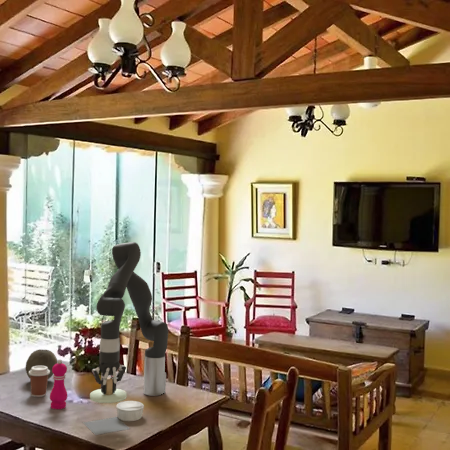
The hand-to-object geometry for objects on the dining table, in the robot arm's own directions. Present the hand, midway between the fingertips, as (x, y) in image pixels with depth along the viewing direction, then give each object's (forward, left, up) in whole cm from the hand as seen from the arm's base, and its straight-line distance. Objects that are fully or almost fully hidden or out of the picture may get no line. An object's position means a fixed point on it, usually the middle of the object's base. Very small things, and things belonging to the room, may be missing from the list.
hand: (108, 392), depth 234 cm
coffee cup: (+13, -48, -14) cm, 52 cm away
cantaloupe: (+7, -66, -14) cm, 68 cm away
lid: (0, 0, -2) cm, 2 cm away
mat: (0, 0, -13) cm, 13 cm away
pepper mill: (+10, -29, -14) cm, 34 cm away
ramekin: (-12, -5, -14) cm, 19 cm away
